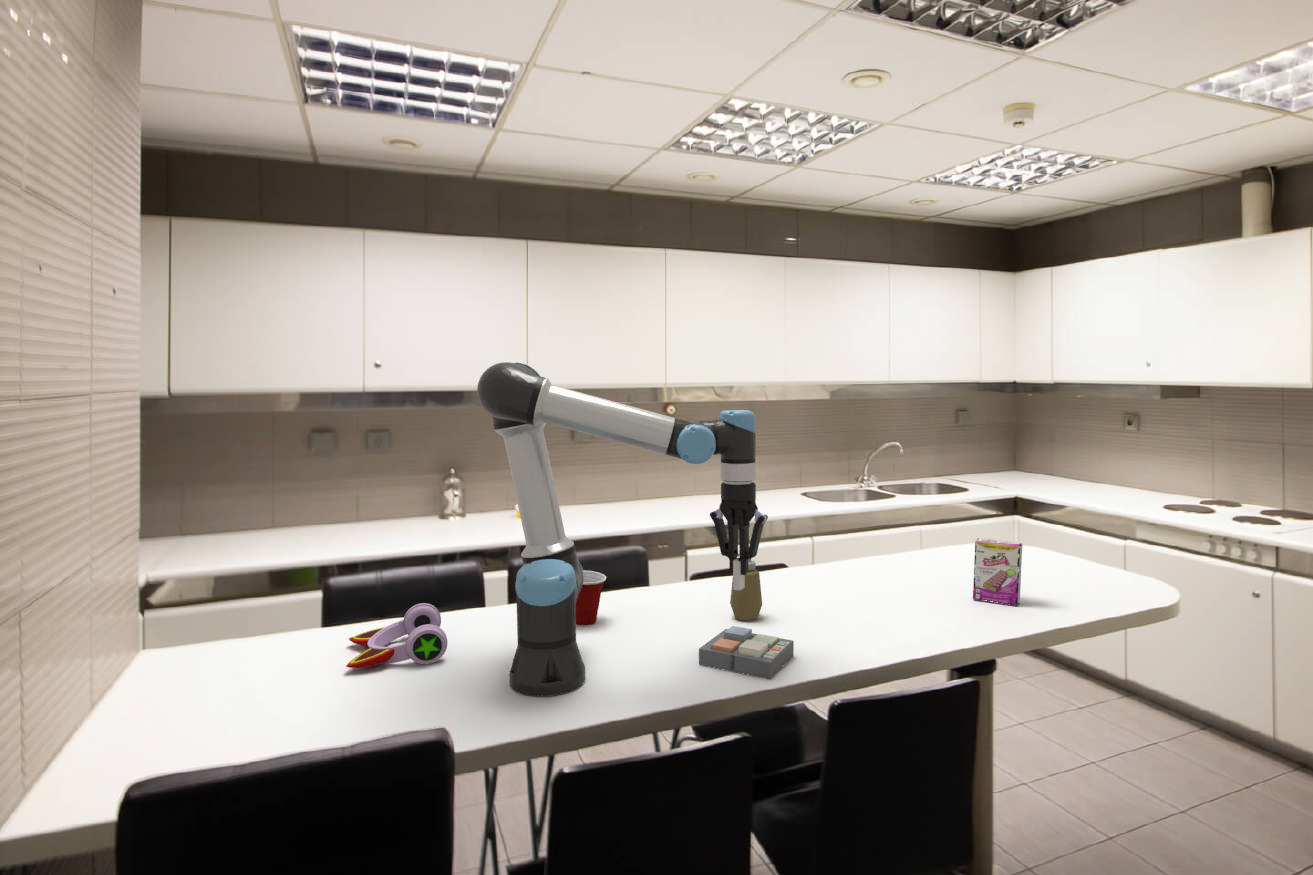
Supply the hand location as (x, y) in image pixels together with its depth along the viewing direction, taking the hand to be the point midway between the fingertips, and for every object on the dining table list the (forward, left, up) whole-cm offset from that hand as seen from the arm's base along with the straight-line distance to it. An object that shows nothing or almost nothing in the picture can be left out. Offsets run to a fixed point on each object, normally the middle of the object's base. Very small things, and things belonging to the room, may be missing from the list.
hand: (739, 588), depth 160 cm
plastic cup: (+1, +42, -15) cm, 44 cm away
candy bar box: (+67, -46, -15) cm, 83 cm away
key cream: (-6, -6, -13) cm, 15 cm away
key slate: (0, 0, -13) cm, 13 cm away
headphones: (-36, +67, -15) cm, 77 cm away
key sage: (0, -6, -13) cm, 15 cm away
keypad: (-3, -3, -15) cm, 15 cm away
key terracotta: (-6, 0, -13) cm, 15 cm away
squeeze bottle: (+23, +8, -15) cm, 28 cm away
